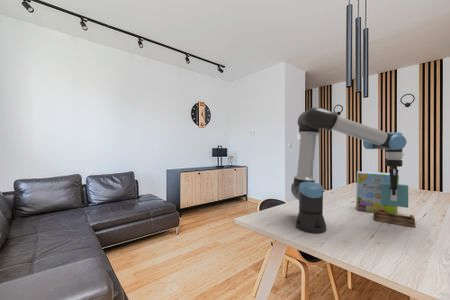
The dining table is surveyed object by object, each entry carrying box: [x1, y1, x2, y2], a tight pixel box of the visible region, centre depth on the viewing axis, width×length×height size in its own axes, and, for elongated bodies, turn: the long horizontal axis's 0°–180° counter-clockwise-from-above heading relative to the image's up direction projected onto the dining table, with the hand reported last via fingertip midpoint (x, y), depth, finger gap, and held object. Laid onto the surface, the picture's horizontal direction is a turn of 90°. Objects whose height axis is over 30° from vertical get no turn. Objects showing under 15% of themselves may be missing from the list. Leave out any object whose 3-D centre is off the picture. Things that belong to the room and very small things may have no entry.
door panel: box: [381, 183, 409, 209], centre depth 118 cm, size 4×12×12 cm, turn 53°
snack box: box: [355, 171, 400, 215], centre depth 135 cm, size 22×9×26 cm, turn 62°
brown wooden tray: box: [372, 210, 416, 229], centre depth 118 cm, size 18×12×4 cm, turn 54°
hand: (393, 199), depth 118 cm, fingers closed on door panel, 4 cm apart
